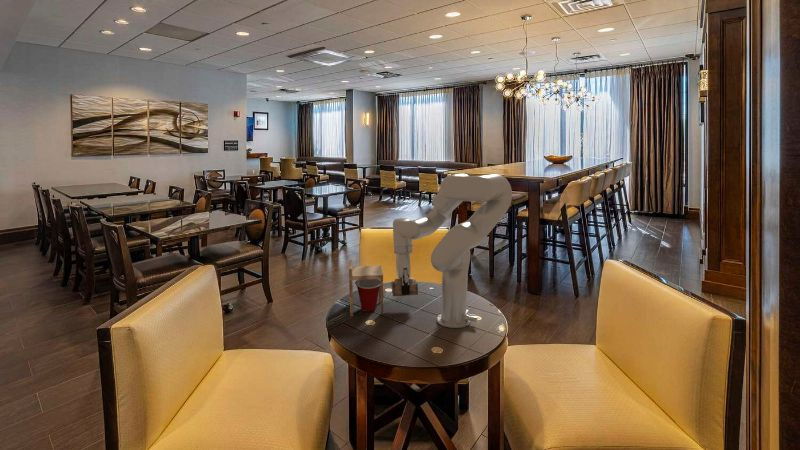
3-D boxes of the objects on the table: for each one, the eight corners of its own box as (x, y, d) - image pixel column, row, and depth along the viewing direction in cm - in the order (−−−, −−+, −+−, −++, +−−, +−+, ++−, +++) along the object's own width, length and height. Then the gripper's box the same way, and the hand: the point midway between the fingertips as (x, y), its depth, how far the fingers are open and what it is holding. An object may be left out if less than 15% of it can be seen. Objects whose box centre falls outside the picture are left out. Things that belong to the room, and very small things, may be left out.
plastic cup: (356, 315, 169) (356, 286, 167) (354, 305, 180) (354, 277, 178) (383, 313, 171) (383, 284, 169) (380, 303, 182) (380, 276, 179)
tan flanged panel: (381, 302, 183) (380, 258, 179) (383, 314, 170) (383, 267, 166) (350, 304, 181) (348, 259, 177) (350, 316, 168) (348, 268, 165)
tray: (415, 290, 179) (415, 276, 178) (417, 294, 173) (417, 280, 172) (392, 291, 178) (391, 277, 177) (393, 296, 172) (392, 282, 171)
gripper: (391, 245, 180) (393, 286, 183) (396, 254, 163) (398, 299, 166) (409, 244, 181) (410, 284, 184) (415, 253, 164) (417, 297, 167)
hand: (404, 291), depth 175 cm, fingers closed on tray, 6 cm apart
